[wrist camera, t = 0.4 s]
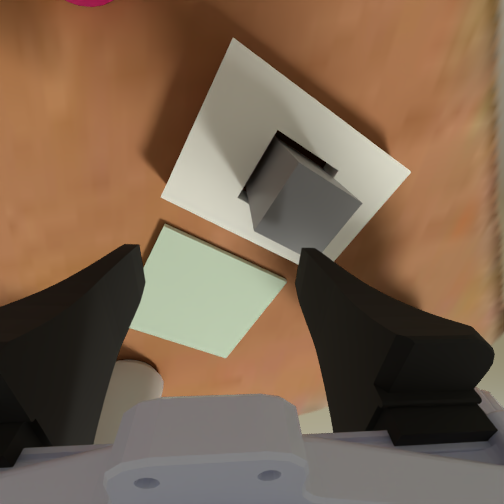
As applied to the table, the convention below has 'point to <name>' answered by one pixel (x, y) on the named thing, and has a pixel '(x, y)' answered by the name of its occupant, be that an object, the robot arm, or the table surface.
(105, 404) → the can
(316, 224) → the plug
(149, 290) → the mat
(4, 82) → the table surface
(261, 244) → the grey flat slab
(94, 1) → the pepper mill
